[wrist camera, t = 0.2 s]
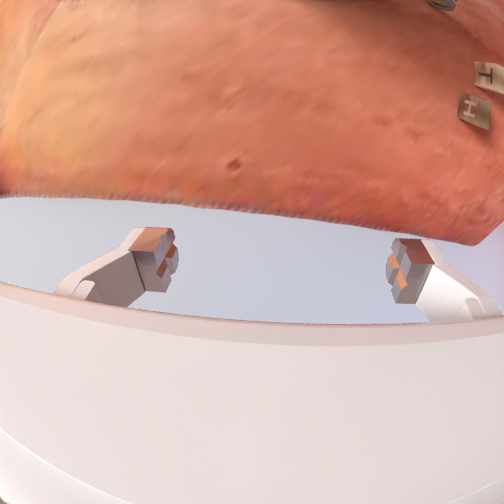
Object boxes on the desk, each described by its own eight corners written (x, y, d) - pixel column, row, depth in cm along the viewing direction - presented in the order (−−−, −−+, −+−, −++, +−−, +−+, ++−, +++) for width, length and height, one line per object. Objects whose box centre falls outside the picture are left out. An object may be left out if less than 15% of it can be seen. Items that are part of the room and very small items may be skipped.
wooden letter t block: (474, 61, 33) (497, 63, 26) (483, 65, 33) (506, 69, 26) (473, 85, 37) (496, 90, 30) (482, 88, 36) (505, 95, 30)
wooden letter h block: (459, 92, 39) (481, 98, 32) (469, 95, 39) (491, 102, 32) (457, 117, 42) (478, 126, 36) (467, 120, 42) (488, 130, 35)
